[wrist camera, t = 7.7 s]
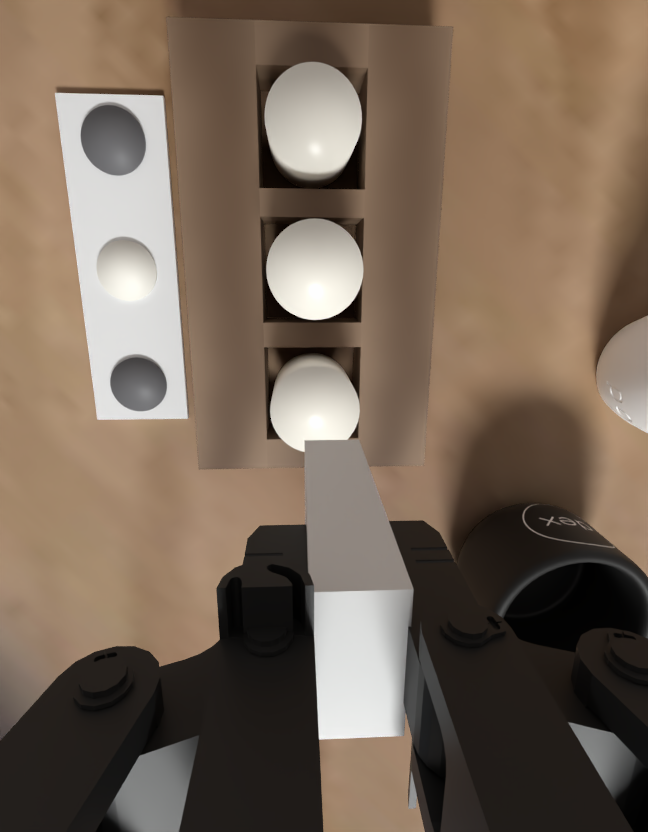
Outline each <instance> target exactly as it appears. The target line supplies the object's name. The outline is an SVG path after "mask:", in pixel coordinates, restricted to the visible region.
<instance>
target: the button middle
mask: <svg viewBox="0 0 648 832" xmlns="http://www.w3.org/2000/svg"><path fill="white" fill-rule="evenodd" d="M266 273H267V280H268V284H269V287H270V290H271V292H272V294H273V296H274V297H275V299H276V300H277V301H278V303H279V304H280V305H281V306H282V307H283V308H284V309H286V310H287V311H288V312H290V313H291V314H293V315H295V316H298V317H300V318H304V319H309V320H322V319H326V318H330V317H333V316H335V315H337V314H339V313H340V312H342V311H343V310H345V309H346V308H347V307H348V306H349V305H350V304H351V303H352V301H353V300H354V299H355V297H356V295H357V293H358V291H359V289H360V286H361V283H362V279H363V260H362V256H361V252H360V250H359V247H358V245H357V244H356V242H355V240H354V239H353V238H352V236H351V235H350V234H349V233H348V232H347V231H346V230H345V229H343V228H342V227H341V226H339V225H337V224H336V223H334V222H331V221H328V220H324V219H316V218H314V219H305V220H301V221H298V222H296V223H294V224H292V225H290V226H288V227H287V228H286V229H284V230H283V231H282V232H281V233H280V234H279V235H278V237H277V238H276V239H275V241H274V242H273V244H272V246H271V248H270V251H269V254H268V258H267V264H266Z"/></svg>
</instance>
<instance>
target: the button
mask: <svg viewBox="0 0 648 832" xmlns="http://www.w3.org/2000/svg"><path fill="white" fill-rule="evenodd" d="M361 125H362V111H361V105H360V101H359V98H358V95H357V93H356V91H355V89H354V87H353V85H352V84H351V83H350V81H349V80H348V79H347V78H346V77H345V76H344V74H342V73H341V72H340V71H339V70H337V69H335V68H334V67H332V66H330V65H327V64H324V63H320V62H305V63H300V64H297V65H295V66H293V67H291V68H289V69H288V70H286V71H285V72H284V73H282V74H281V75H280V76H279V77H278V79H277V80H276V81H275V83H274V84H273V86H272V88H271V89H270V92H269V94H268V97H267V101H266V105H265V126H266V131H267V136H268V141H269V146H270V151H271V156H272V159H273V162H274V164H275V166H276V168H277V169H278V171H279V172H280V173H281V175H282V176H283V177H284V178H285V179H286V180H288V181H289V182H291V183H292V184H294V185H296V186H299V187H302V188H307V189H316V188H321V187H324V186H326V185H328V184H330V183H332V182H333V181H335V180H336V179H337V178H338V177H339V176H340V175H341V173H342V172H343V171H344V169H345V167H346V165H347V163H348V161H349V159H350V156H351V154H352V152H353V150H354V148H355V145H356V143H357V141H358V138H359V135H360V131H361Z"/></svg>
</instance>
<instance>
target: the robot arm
mask: <svg viewBox="0 0 648 832" xmlns="http://www.w3.org/2000/svg"><path fill="white" fill-rule="evenodd" d="M304 446H305V525H267V526H259V527H258V528H257V529H256V530H255V532H254V533H253V534H252V535H251V536H250V537H249V538H248V540H247V545H246V551H245V557H244V561H243V565H241V566H238V567H236V568H234V569H233V570H231V571H230V572H229V573H227V574H226V575H225V576H224V577H223V578H222V579H221V581H220V583H219V585H218V586H217V603H218V618H219V633H220V640H219V641H218V642H217V643H216V644H215V645H214V646H212V647H211V648H209V649H207V650H206V651H204V652H202V653H201V654H198V655H196V656H193V657H190V658H188V659H185V660H182V661H178V662H175V663H171V664H168V665H164V666H161V667H159V662H158V661H157V660H156V659H155V657H154V656H153V655H152V654H151V653H150V652H149V651H146V650H143V649H140V648H137V647H135V646H116V647H112V648H108V649H104V650H100V651H97V652H94V653H92V654H90V655H88V656H86V657H84V658H82V659H80V660H78V661H77V662H75V663H74V664H72V665H71V666H70V667H69V668H68V669H67V670H65V671H64V672H63V673H62V674H61V675H60V676H58V677H57V679H56V680H55V681H54V682H53V683H52V684H51V685H50V686H49V687H48V689H47V690H46V691H45V692H44V693H43V694H42V695H41V696H40V697H39V699H38V700H37V701H36V702H35V703H34V704H33V705H32V706H31V707H30V709H29V710H28V711H27V712H26V713H25V714H24V715H23V716H22V717H21V719H20V720H19V721H18V722H17V723H16V724H15V725H14V726H13V728H12V729H11V730H10V731H9V732H8V733H7V734H6V735H5V736H4V738H3V739H2V740H1V741H0V832H323V815H322V794H321V772H320V751H319V739H343V738H366V737H389V736H404V728H405V713H406V715H407V719H408V723H409V727H410V731H411V735H412V748H411V762H410V775H409V789H408V807H409V809H410V808H416V800H417V798H418V803H419V807H420V811H421V816H422V820H423V825H424V829H425V832H648V638H645V637H642V636H640V635H637V634H635V633H632V632H629V631H624V630H619V629H614V628H599V629H592V630H590V631H588V632H586V633H584V634H582V635H581V637H580V639H579V641H578V644H577V647H576V652H570V651H565V650H560V649H555V648H550V647H545V646H540V645H536V644H533V643H529V642H526V641H522V640H520V639H518V638H517V636H516V634H515V633H514V631H513V629H512V628H511V627H510V626H509V625H508V624H507V622H506V621H505V620H504V619H503V618H502V617H501V616H499V615H498V614H496V613H495V612H493V611H491V610H490V609H488V608H486V607H483V606H480V605H478V603H477V601H476V599H475V597H474V596H473V594H472V592H471V590H470V588H469V586H468V585H467V583H466V581H465V579H464V577H463V575H462V574H461V572H460V570H459V568H458V566H457V564H456V563H455V562H454V559H453V557H452V555H451V553H450V551H449V550H447V546H446V544H445V542H444V540H443V539H442V537H441V535H440V533H439V532H438V531H436V530H435V529H434V528H432V527H431V526H430V525H428V524H427V523H426V522H424V521H389V520H388V518H387V515H386V512H385V509H384V507H383V504H382V501H381V498H380V496H379V493H378V490H377V487H376V485H375V482H374V479H373V477H372V474H371V471H370V468H369V466H368V463H367V460H366V457H365V455H364V452H363V449H362V446H361V444H360V441H359V440H304Z"/></svg>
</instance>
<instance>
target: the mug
mask: <svg viewBox="0 0 648 832" xmlns="http://www.w3.org/2000/svg"><path fill="white" fill-rule="evenodd" d="M457 566H458V568H459V570H460V572H461V574H462V575H463V577H464V579H465V581H466V583H467V585H468V586H469V588H470V590H471V592H472V594H473V596H474V597H475V599H476V601H477V603H478V605H480V606H483V607H486V608H488V609H490V610H491V611H493V612H495V613H496V614H498V615H499V616H501V617H502V618H503V619H504V620H505V621H506V622H507V624H508V625H509V626H510V627H511V628H512V629H513V631H514V633H515V634H516V636H517V638H518V639H520V640H522V641H526V642H529V643H533V644H536V645H540V646H545V647H550V648H555V649H560V650H565V651H570V652H576V647H577V644H578V641H579V639H580V637H581V635H582V634H584V633H586V632H588V631H590V630H592V629H599V628H614V629H619V630H624V631H629V632H632V633H635V634H637V635H640V636H642V637H645V638H648V577H647V576H646V574H645V573H644V572H643V571H642V570H641V569H640V568H639V567H638V566H637V565H636V564H635V563H634V562H633V561H632V560H630V559H629V558H628V557H627V556H626V555H624V554H623V553H622V552H621V551H620V550H618V549H617V548H616V547H615V546H614V545H613V544H611V543H610V542H609V541H608V540H607V539H605V538H604V537H603V536H602V535H601V534H599V533H598V532H597V531H596V530H595V529H594V528H592V527H591V526H590V525H589V524H588V523H586V522H585V521H584V520H582V519H581V518H580V517H578V516H577V515H575V514H573V513H571V512H569V511H567V510H565V509H562V508H559V507H556V506H552V505H547V504H538V503H527V504H518V505H513V506H509V507H506V508H503V509H501V510H499V511H496V512H495V513H493V514H491V515H489V516H488V517H487V518H485V519H484V520H482V521H481V522H480V523H479V524H478V525H477V526H476V527H475V528H474V529H473V530H472V532H471V533H470V534H469V536H468V537H467V539H466V541H465V543H464V544H463V546H462V549H461V552H460V555H459V559H458V563H457Z"/></svg>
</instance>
